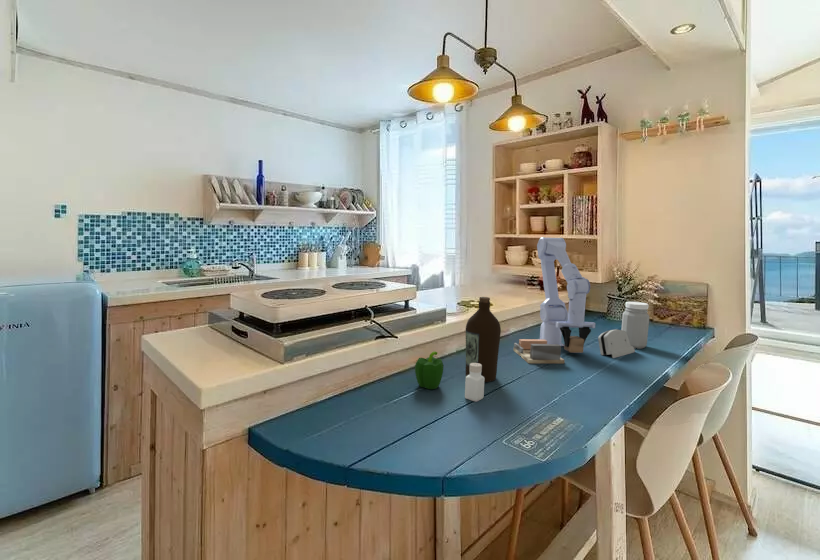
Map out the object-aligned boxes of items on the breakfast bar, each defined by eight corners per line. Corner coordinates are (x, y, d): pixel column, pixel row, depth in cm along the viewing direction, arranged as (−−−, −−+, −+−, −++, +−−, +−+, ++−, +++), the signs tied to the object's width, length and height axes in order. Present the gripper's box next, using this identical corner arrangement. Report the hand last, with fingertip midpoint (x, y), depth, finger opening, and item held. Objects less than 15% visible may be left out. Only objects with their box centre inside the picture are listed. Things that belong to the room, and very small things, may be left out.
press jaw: (518, 347, 161) (519, 339, 161) (544, 347, 162) (544, 339, 161) (520, 349, 158) (521, 340, 158) (546, 349, 159) (547, 341, 159)
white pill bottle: (476, 402, 111) (478, 367, 110) (463, 398, 113) (465, 364, 112) (484, 398, 114) (486, 364, 113) (471, 394, 116) (473, 361, 115)
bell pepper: (422, 393, 116) (423, 358, 115) (410, 383, 124) (411, 350, 123) (448, 389, 120) (450, 355, 118) (435, 380, 127) (437, 347, 126)
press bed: (513, 350, 162) (514, 334, 162) (546, 350, 164) (547, 334, 163) (528, 363, 147) (529, 345, 146) (564, 363, 148) (565, 346, 147)
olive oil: (485, 370, 138) (489, 294, 135) (505, 380, 128) (509, 299, 126) (457, 373, 134) (460, 295, 131) (475, 385, 124) (479, 301, 121)
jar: (622, 341, 182) (625, 300, 180) (647, 345, 176) (652, 303, 174) (617, 346, 174) (621, 303, 172) (644, 350, 168) (649, 306, 166)
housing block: (564, 348, 161) (565, 335, 161) (576, 348, 162) (577, 336, 161) (570, 352, 156) (571, 339, 156) (583, 352, 157) (584, 339, 156)
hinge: (613, 358, 156) (606, 331, 158) (601, 359, 160) (595, 333, 161) (635, 351, 166) (629, 326, 167) (624, 353, 170) (617, 328, 171)
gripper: (562, 312, 153) (559, 349, 154) (600, 313, 154) (597, 349, 156) (554, 309, 160) (551, 344, 161) (591, 309, 161) (588, 344, 163)
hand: (573, 346), depth 159 cm, fingers closed on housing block, 5 cm apart
